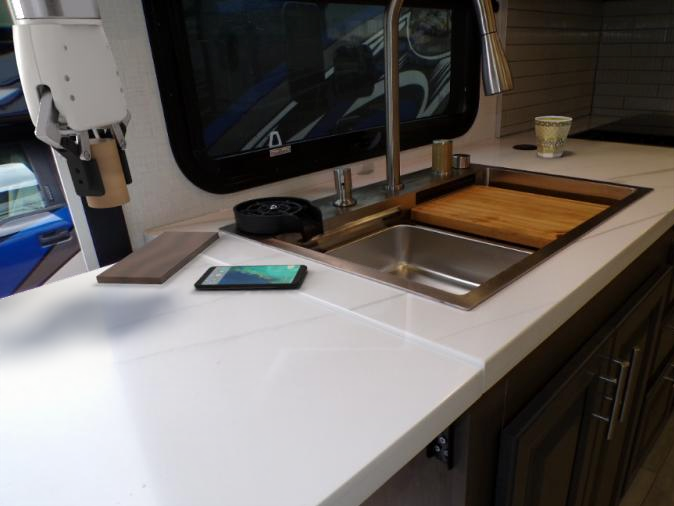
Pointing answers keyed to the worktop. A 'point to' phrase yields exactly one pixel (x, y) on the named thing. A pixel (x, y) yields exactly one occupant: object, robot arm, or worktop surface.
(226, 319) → the worktop surface
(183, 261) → the walnut board
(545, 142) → the ceramic cup
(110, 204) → the wooden cylinder
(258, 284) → the smartphone
